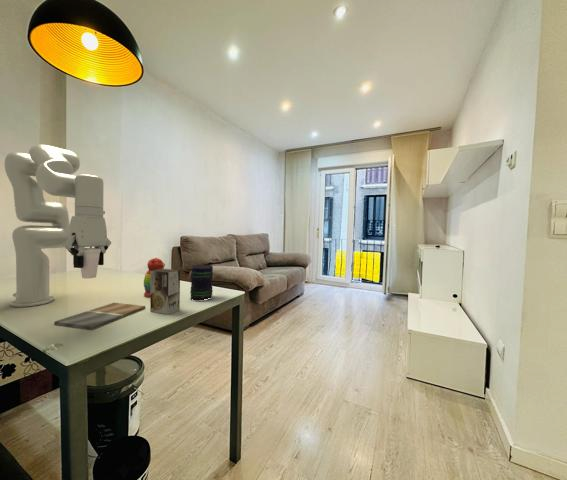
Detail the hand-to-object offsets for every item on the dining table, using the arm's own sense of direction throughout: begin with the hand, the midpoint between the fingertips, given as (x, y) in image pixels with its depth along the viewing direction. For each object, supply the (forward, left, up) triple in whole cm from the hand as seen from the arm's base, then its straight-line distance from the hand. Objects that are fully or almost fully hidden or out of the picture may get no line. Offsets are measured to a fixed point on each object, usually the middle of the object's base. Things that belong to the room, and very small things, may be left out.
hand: (89, 265), depth 83 cm
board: (0, +6, -19) cm, 20 cm away
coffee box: (+17, +17, -19) cm, 30 cm away
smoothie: (0, 0, -4) cm, 4 cm away
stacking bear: (-2, +35, -19) cm, 40 cm away
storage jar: (+21, +37, -19) cm, 46 cm away
